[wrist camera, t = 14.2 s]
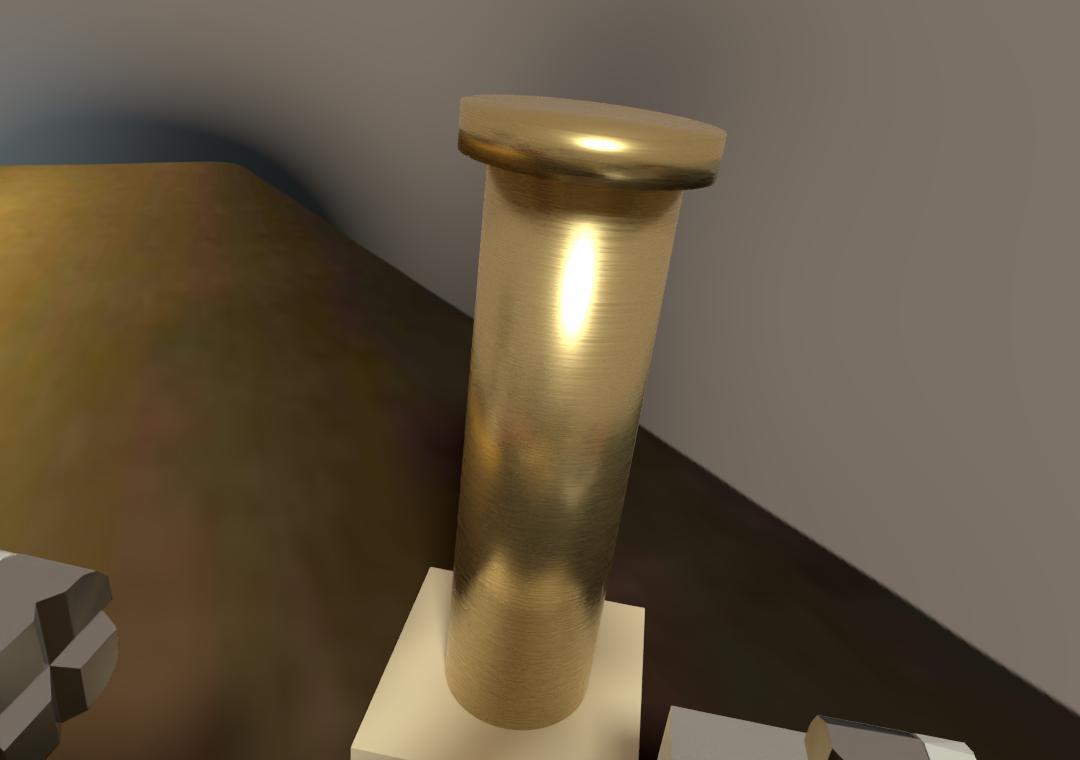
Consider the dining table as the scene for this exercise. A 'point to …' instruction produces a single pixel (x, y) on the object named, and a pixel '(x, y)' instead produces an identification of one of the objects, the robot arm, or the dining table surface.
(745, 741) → the housing
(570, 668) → the cover plug
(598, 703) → the coaster
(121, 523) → the dining table surface
